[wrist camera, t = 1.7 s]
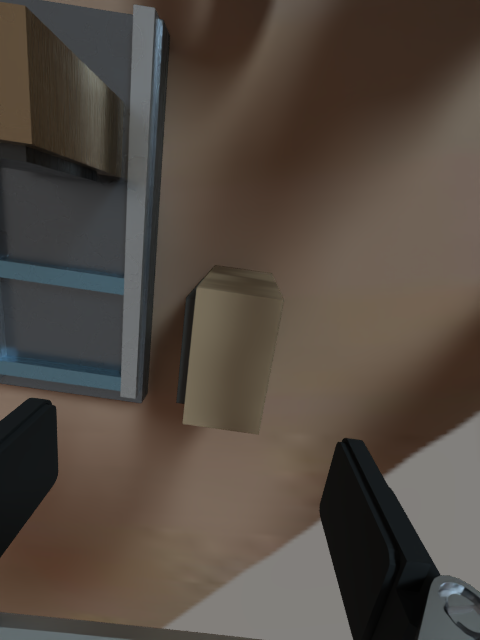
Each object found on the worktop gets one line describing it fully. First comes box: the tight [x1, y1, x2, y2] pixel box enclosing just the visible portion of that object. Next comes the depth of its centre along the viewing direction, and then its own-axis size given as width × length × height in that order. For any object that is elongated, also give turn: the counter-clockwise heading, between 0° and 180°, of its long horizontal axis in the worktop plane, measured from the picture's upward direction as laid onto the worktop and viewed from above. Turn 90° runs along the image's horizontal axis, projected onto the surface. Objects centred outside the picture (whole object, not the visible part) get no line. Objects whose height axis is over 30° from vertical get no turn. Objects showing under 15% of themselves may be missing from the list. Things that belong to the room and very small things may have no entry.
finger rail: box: [0, 0, 170, 403], centre depth 18 cm, size 12×26×11 cm, turn 172°
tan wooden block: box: [176, 265, 284, 435], centre depth 21 cm, size 5×8×9 cm, turn 172°
